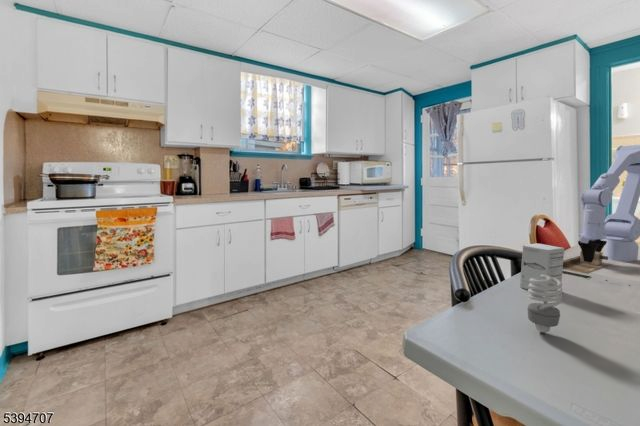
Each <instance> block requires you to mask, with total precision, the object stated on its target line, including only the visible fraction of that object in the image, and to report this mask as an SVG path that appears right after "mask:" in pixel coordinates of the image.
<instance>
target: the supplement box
mask: <svg viewBox="0 0 640 426" xmlns="http://www.w3.org/2000/svg"><path fill="white" fill-rule="evenodd" d="M564 255H565V247H559V246H554V245H549V244H543V243H537V242H536V243H530V244H523V245H522V255H521V268H520V269H521V270H520V280H519V281H520V282H519V288H520V287H521V288H522V289H525V290H528V289H533V288H530V287H529V286H528V285H529V284H530V283H532V282H530V281H529V280H530V278H538V279H543V278H541V277H540V275H546V276H550V277H553V278H556V279H558V280H559V281H561V283H562V280H563V279H562V278H563V273H562V271H564V269H563V260H564ZM543 280H546V279H543ZM551 282H553V283H555V284H557V283H556V282H554V281H551ZM535 284H536V283H535ZM542 285H546V286H551V285H548V284H542ZM556 290H558V289H556ZM544 291H547V292H552V291H549V290H544Z"/></svg>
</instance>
